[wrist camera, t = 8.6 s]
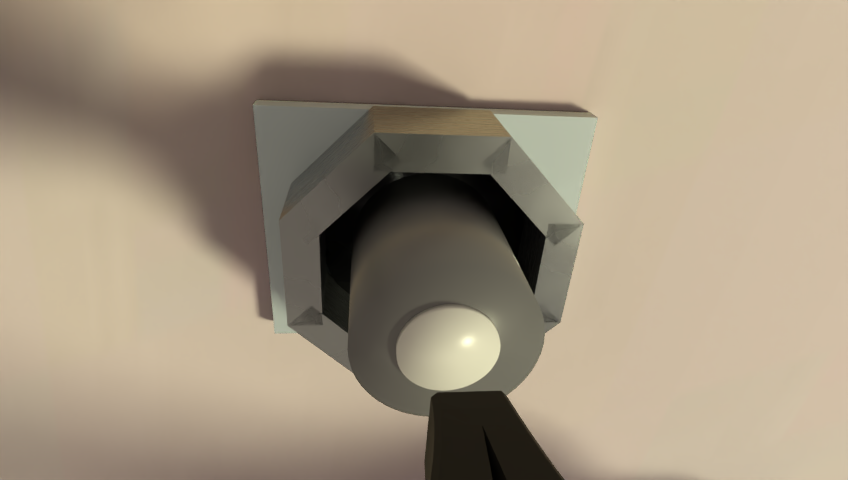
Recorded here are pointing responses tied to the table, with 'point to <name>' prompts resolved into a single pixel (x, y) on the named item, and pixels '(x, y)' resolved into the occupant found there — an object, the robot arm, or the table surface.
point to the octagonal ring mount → (400, 157)
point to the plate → (325, 122)
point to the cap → (437, 296)
